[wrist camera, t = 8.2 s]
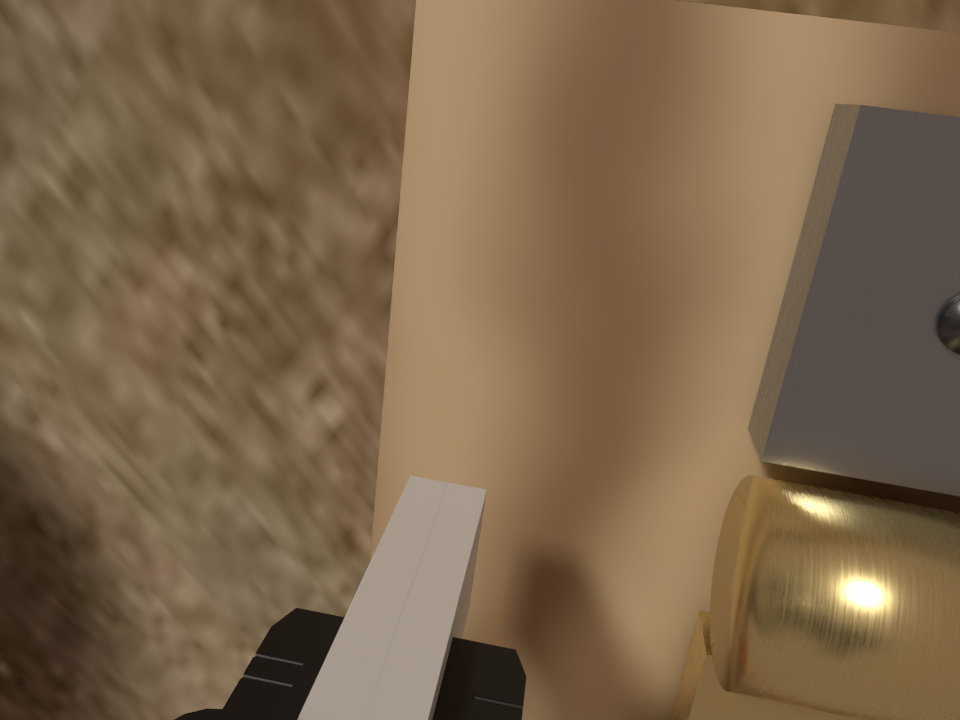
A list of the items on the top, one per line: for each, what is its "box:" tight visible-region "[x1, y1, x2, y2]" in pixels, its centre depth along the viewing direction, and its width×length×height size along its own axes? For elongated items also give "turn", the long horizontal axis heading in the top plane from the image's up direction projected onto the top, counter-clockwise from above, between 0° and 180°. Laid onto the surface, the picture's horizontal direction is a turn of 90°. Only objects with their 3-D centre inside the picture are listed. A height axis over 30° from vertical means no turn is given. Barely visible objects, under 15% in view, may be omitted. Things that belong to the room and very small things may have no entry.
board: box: [370, 0, 960, 720], centre depth 18 cm, size 22×21×1 cm
